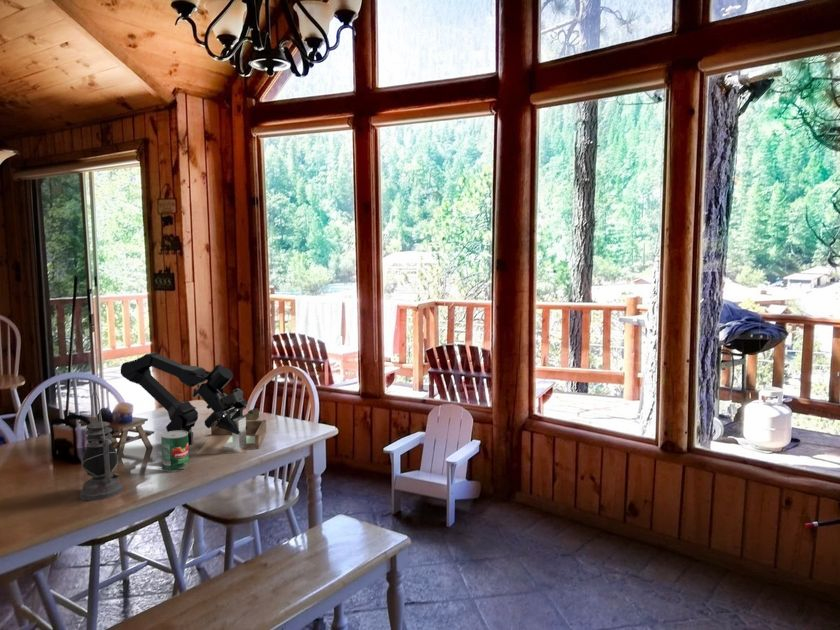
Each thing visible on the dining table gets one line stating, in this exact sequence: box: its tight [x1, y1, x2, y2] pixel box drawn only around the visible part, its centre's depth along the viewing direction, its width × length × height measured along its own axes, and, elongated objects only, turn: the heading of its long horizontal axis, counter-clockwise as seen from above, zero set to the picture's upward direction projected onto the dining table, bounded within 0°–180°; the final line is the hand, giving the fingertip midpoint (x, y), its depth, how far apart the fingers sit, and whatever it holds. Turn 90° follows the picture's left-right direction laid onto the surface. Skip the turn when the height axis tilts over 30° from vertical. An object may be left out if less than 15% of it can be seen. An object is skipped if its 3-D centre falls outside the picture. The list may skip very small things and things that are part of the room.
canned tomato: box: [160, 430, 190, 473], centre depth 181 cm, size 8×8×11 cm
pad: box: [226, 436, 255, 444], centre depth 205 cm, size 10×8×1 cm
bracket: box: [222, 417, 246, 452], centre depth 195 cm, size 7×4×11 cm
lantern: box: [79, 389, 123, 501], centre depth 161 cm, size 12×11×30 cm
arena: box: [196, 419, 267, 455], centre depth 202 cm, size 20×21×6 cm
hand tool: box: [243, 407, 260, 420], centre depth 228 cm, size 19×4×5 cm, turn 159°
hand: (242, 431), depth 194 cm, fingers closed on bracket, 4 cm apart
